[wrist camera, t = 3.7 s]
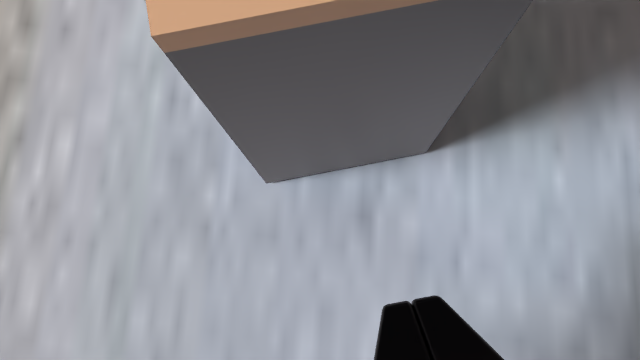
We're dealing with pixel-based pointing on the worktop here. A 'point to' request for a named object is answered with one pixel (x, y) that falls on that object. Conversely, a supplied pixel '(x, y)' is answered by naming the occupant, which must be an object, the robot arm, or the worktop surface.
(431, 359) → the robot arm
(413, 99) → the plug
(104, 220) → the worktop surface
